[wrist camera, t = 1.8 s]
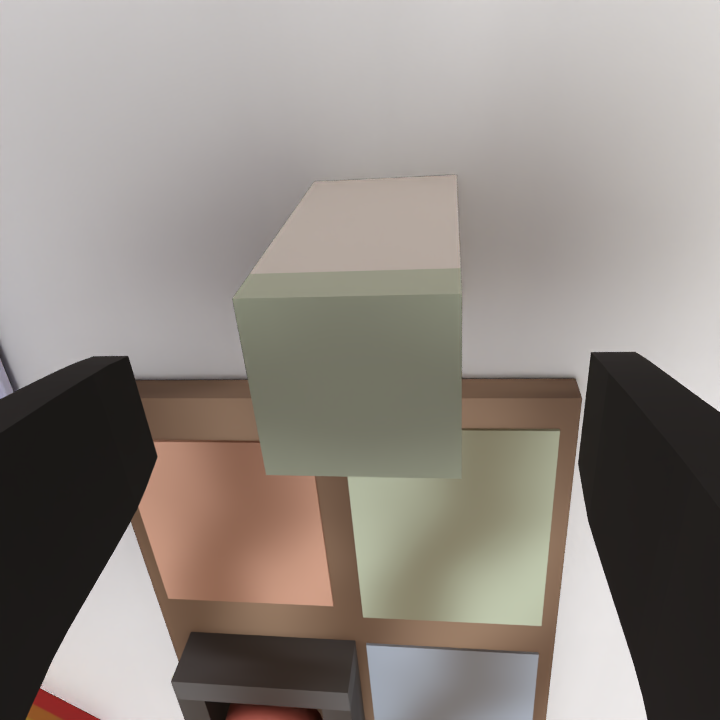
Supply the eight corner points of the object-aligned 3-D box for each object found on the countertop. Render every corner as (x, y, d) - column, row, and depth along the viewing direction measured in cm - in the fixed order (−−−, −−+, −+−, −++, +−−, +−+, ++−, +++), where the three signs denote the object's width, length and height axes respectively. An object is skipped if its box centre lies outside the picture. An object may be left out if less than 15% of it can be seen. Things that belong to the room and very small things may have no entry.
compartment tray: (210, 709, 28) (186, 782, 25) (104, 380, 20) (52, 439, 17) (538, 732, 26) (548, 814, 23) (575, 378, 18) (597, 444, 15)
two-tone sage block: (328, 309, 18) (265, 475, 12) (314, 181, 16) (232, 298, 10) (457, 306, 17) (461, 478, 11) (456, 174, 15) (462, 293, 9)
